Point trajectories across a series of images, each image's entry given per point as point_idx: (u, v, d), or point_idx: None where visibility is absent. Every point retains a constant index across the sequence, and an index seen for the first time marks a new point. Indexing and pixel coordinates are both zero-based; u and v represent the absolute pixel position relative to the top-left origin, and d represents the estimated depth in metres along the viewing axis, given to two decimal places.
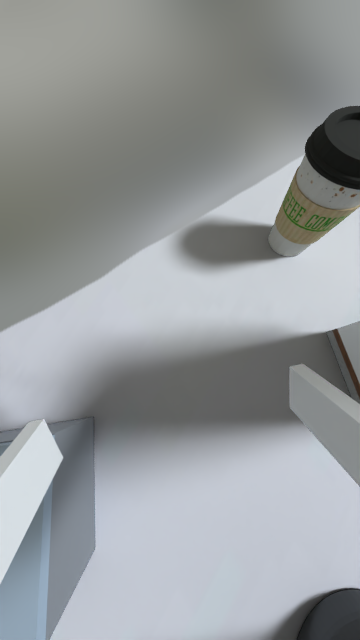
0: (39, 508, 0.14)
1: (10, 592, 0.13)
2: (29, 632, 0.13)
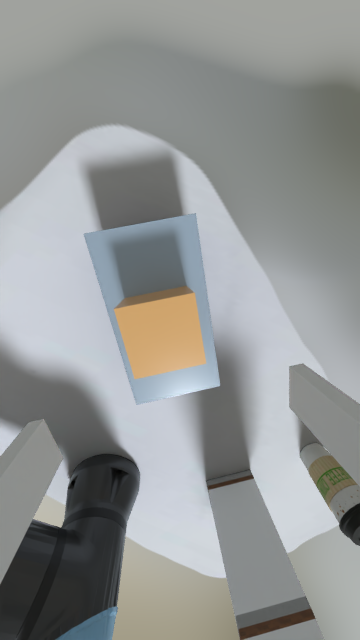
0: (189, 390, 0.29)
1: (159, 388, 0.28)
2: (147, 399, 0.29)
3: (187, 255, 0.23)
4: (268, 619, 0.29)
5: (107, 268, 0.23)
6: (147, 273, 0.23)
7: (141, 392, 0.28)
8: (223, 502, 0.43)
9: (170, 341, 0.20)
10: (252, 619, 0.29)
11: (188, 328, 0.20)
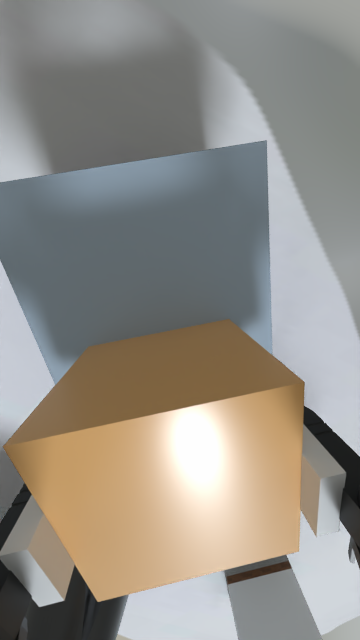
0: None
1: None
2: None
3: (236, 250, 0.10)
4: None
5: (42, 279, 0.09)
6: (140, 291, 0.10)
7: None
8: (251, 611, 0.30)
9: (206, 516, 0.06)
10: None
11: (265, 481, 0.06)
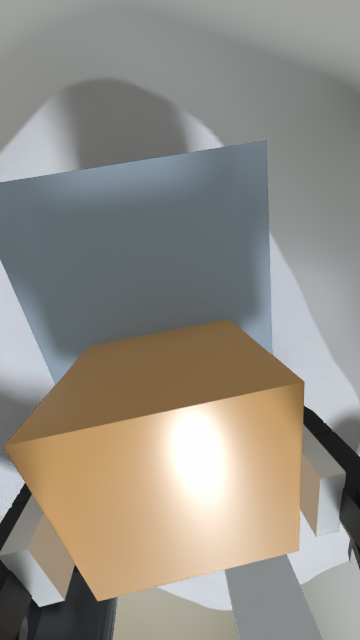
0: None
1: None
2: None
3: (236, 250, 0.10)
4: None
5: (42, 279, 0.09)
6: (141, 291, 0.10)
7: None
8: None
9: (206, 516, 0.06)
10: None
11: (265, 481, 0.06)
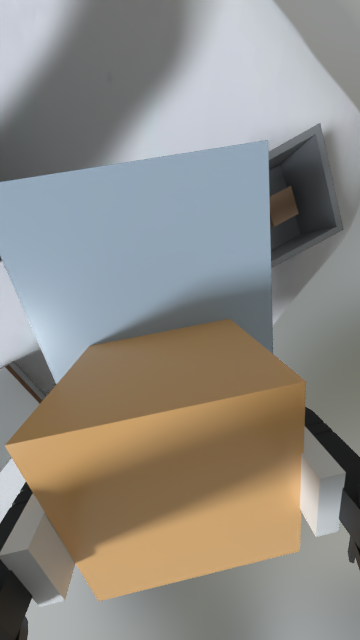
0: None
1: None
2: None
3: (237, 250, 0.10)
4: None
5: (43, 279, 0.09)
6: (141, 291, 0.10)
7: None
8: (2, 389, 0.32)
9: (207, 515, 0.06)
10: None
11: (267, 481, 0.06)
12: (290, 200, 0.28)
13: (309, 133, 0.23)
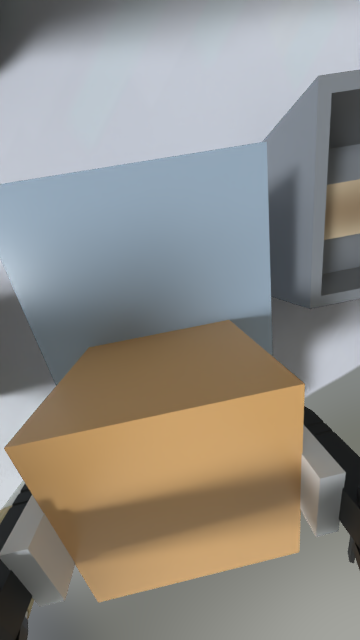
0: None
1: None
2: None
3: (236, 251, 0.10)
4: None
5: (43, 280, 0.09)
6: (141, 292, 0.10)
7: None
8: None
9: (206, 516, 0.06)
10: None
11: (265, 483, 0.06)
12: None
13: None
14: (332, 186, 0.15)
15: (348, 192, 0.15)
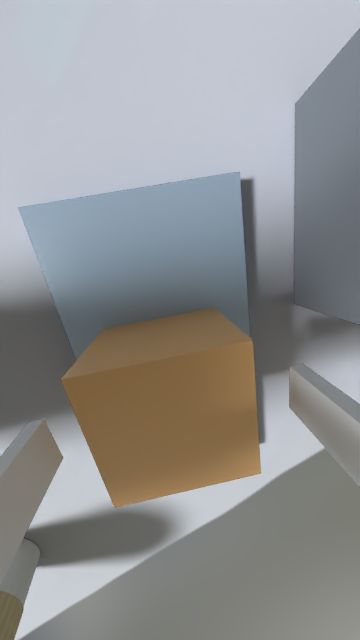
0: None
1: None
2: None
3: (219, 253, 0.13)
4: None
5: (69, 276, 0.12)
6: (144, 285, 0.13)
7: None
8: None
9: (191, 439, 0.09)
10: None
11: (232, 413, 0.09)
12: None
13: None
14: None
15: None
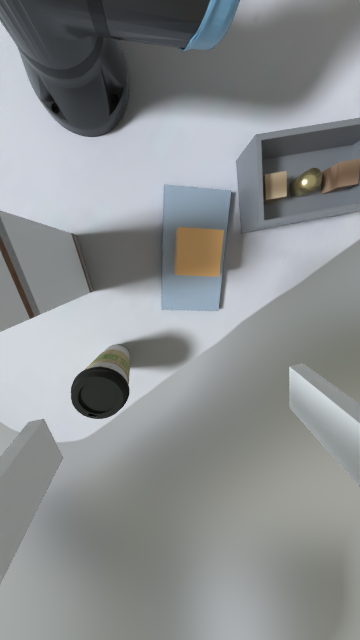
0: (198, 309, 0.43)
1: (179, 301, 0.42)
2: (169, 307, 0.43)
3: (220, 215, 0.38)
4: (10, 257, 0.20)
5: (171, 210, 0.37)
6: (193, 219, 0.38)
7: (167, 301, 0.42)
8: (68, 247, 0.34)
9: (203, 256, 0.34)
10: (2, 233, 0.20)
11: (215, 251, 0.34)
12: (356, 170, 0.35)
13: None
14: (270, 174, 0.34)
15: (278, 177, 0.34)
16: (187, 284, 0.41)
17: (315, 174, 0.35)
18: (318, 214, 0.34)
